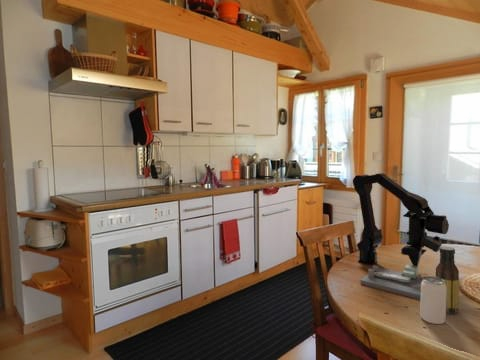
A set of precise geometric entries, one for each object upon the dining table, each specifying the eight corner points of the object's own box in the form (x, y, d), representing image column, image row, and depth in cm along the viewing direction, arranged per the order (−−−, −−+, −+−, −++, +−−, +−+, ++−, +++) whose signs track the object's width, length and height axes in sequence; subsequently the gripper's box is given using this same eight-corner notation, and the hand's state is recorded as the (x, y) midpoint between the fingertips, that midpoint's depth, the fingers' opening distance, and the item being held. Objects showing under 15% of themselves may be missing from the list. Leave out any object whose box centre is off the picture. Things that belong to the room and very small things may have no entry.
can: (436, 327, 90) (438, 286, 89) (415, 317, 96) (416, 278, 95) (450, 321, 93) (451, 281, 92) (428, 311, 99) (429, 274, 98)
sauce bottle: (453, 305, 102) (455, 245, 101) (462, 315, 96) (465, 251, 95) (431, 304, 104) (433, 244, 102) (438, 313, 98) (441, 250, 96)
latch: (401, 278, 120) (402, 269, 120) (406, 273, 125) (406, 264, 125) (413, 281, 118) (413, 271, 117) (418, 275, 123) (418, 266, 122)
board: (360, 283, 121) (360, 272, 120) (376, 270, 133) (376, 260, 133) (426, 301, 106) (426, 288, 106) (437, 284, 118) (437, 273, 118)
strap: (370, 275, 124) (370, 272, 124) (373, 273, 126) (373, 270, 126) (408, 282, 115) (408, 279, 115) (411, 280, 117) (410, 277, 117)
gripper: (435, 237, 114) (433, 280, 115) (445, 227, 127) (443, 265, 129) (401, 232, 121) (400, 272, 122) (414, 223, 135) (413, 259, 136)
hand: (415, 267), depth 127 cm, fingers closed
